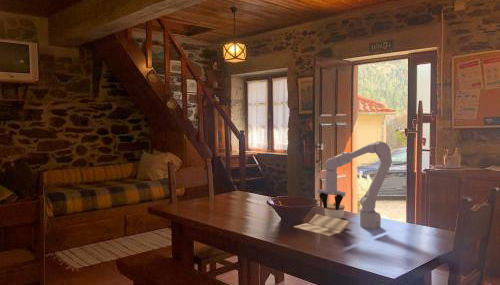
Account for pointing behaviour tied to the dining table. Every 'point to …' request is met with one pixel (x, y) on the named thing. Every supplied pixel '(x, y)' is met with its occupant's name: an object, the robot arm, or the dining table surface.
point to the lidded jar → (334, 211)
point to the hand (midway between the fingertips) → (331, 208)
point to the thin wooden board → (317, 229)
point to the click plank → (329, 222)
